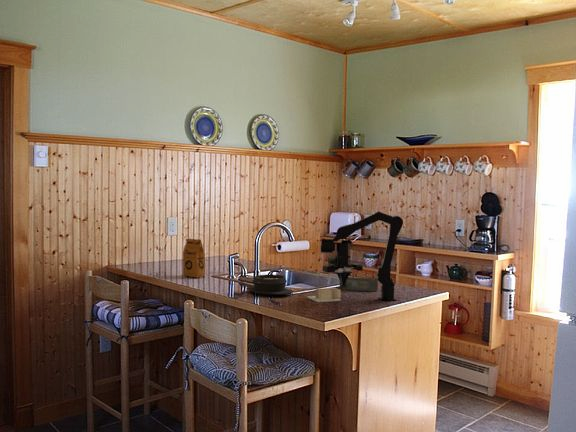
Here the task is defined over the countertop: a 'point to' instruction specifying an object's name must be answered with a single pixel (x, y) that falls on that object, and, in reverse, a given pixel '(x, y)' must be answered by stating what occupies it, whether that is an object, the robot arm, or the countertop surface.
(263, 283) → the casserole
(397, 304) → the countertop surface
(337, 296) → the beige bevelled block
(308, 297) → the mat
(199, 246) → the coffee package
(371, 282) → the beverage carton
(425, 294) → the countertop surface
